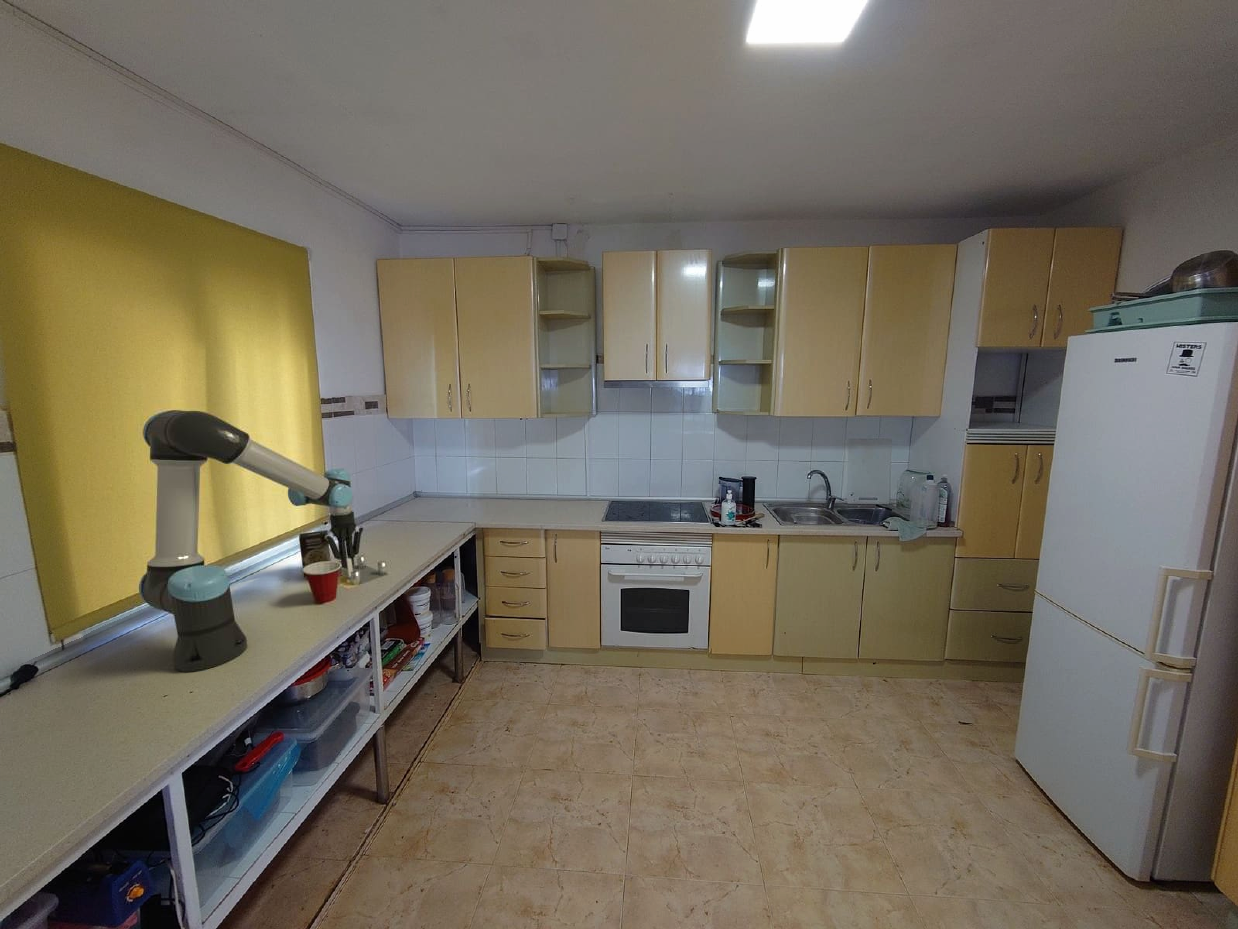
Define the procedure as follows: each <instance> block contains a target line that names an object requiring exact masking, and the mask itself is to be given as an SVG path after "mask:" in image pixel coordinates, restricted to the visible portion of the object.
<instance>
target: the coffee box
mask: <svg viewBox="0 0 1238 929" xmlns="http://www.w3.org/2000/svg"><path fill="white" fill-rule="evenodd" d="M328 534H329V532H328V529H325V530H318V531H311V532H305V533H304V532H303V533H299V537H298V540H299V548H300V549H299V550H300V556H301V563H302V564H301V565H302V569H303V568H304V567H306V566H308V565H310V564H313V563H317V562H323V561H332V559H331V551H330V550H331V548H330V546H329V543H328V541H327V540H326V539H325V538H324V536H325V535H328ZM302 573H303V579H304V580H307V577H306V575H305V573H304V572H303V571H302Z"/></svg>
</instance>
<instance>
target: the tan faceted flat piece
mask: <svg viewBox="0 0 1238 929" xmlns="http://www.w3.org/2000/svg"><path fill="white" fill-rule="evenodd" d="M347 580H348V578H347V573H339V574H338V584H342V583H345V582H347Z"/></svg>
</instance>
